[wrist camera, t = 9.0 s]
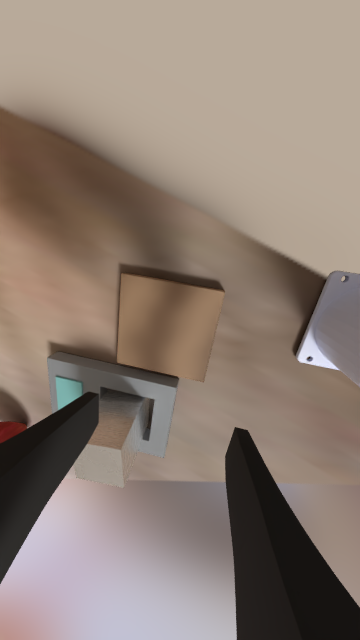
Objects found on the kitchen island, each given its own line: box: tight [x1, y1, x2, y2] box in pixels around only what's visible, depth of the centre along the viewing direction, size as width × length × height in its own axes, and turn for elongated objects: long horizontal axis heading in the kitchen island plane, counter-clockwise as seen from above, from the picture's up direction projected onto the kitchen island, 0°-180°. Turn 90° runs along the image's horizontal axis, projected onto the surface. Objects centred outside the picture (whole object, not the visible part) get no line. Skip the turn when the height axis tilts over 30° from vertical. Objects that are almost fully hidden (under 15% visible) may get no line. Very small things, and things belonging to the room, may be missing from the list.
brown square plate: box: [117, 273, 225, 382], centre depth 18 cm, size 9×9×1 cm
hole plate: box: [47, 352, 179, 458], centre depth 21 cm, size 14×10×2 cm
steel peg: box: [74, 389, 149, 488], centre depth 19 cm, size 4×4×7 cm
